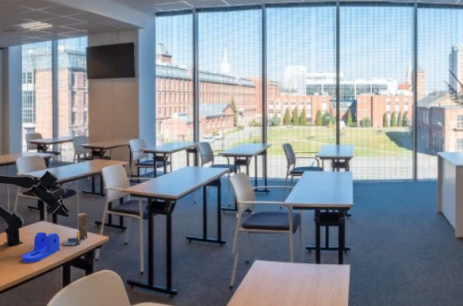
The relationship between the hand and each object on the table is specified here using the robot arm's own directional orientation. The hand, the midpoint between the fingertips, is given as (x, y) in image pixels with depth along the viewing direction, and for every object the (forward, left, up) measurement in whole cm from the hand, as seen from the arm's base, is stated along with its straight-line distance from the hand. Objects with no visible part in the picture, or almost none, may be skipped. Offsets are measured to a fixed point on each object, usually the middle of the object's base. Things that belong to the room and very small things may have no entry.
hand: (68, 214), depth 229 cm
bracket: (+13, -22, -13) cm, 29 cm away
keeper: (+9, -4, -13) cm, 16 cm away
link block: (+3, +6, -13) cm, 14 cm away
